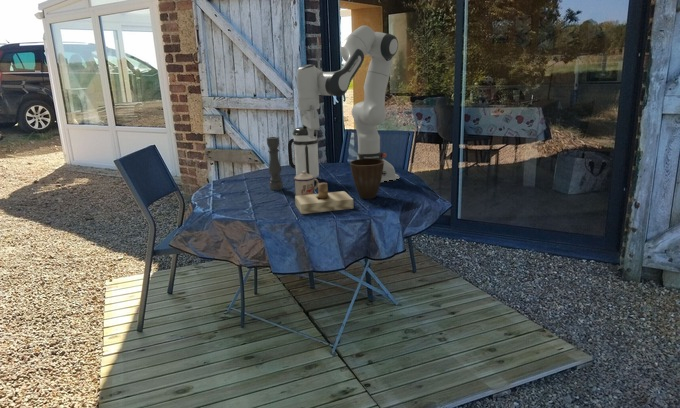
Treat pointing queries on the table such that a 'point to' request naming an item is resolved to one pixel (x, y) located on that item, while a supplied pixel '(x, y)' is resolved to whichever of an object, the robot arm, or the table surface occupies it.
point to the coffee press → (304, 152)
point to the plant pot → (367, 176)
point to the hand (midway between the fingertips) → (311, 137)
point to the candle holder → (274, 163)
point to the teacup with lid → (305, 184)
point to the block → (323, 202)
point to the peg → (323, 191)
